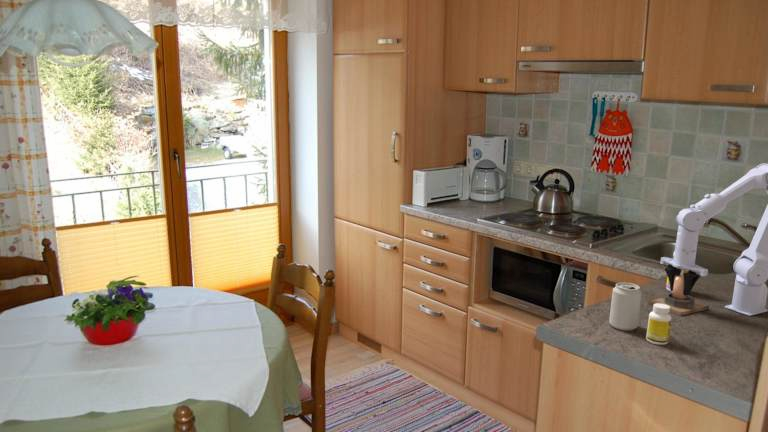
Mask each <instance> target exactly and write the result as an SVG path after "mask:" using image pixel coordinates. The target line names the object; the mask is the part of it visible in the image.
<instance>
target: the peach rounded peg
mask: <svg viewBox="0 0 768 432" xmlns="http://www.w3.org/2000/svg"><path fill="white" fill-rule="evenodd" d="M683 291H684V275H675V278H674V285H673V293H672V292H671V293H672V298H673V299H676V300H684V301H686V298H687V296H685V295H684V294H683Z"/></svg>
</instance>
